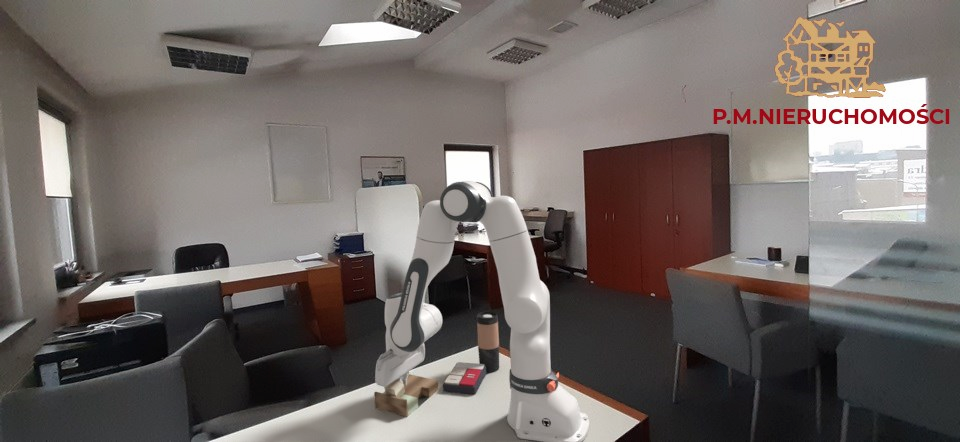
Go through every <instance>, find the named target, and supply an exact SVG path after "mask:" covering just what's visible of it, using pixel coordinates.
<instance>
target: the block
mask: <svg viewBox="0 0 960 442" xmlns="http://www.w3.org/2000/svg"><path fill="white" fill-rule="evenodd" d="M383 388H384V392H386V394H387V395H391V396H395V397H399V398H400V397H401V396H402V395H403V393H404V392H405V388H404V384H403V381H401V380H397V379H396V380H395V381H393V382H392V383H390V384H389V385H387V386H386V387H383Z"/></svg>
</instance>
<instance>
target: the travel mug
mask: <svg viewBox="0 0 960 442" xmlns="http://www.w3.org/2000/svg"><path fill="white" fill-rule="evenodd" d="M498 316H499V315H498V314H497V313H496V312H494V311H482V312H479V313H478V314H477V315H476V327H477V330H476V331H477V346H478V347H477V349H478V350H477V351H478V361H479V362H478V364H485V365H486V373H487V374H488V373H495V372H497V371H498V370H499V369H500V337H499V318H498Z"/></svg>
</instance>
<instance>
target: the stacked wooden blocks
mask: <svg viewBox="0 0 960 442" xmlns="http://www.w3.org/2000/svg"><path fill="white" fill-rule="evenodd" d="M439 385H440V382H439V380H438V379H433V378H429V377H424V376H419V375H414V374H410V373H409V375H408V378H407V385H406V386H404V388H405V392H404V393H403V395H402V396H401V397H400V398H399V397H395V396H391V395H387V394H386V392H385V391H383V392H378V391H374V392H373V393H374V395H373V396H374V405H375V406H374V407H375V409H377V410H380V411H384V412H387V413H391V414H394V415H399V416H401V417H405V418H408V417H409V416H410V415H411V414H412V413H413V412H415V411H416V410H417V409H418V408H419V407H420V406H422V404H424V403H425V402H426V401H427V400H428V399H430V397H432V396H433V395H434V394H435V393H437V392H438V391H439V389H440V387H439Z"/></svg>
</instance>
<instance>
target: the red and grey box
mask: <svg viewBox="0 0 960 442" xmlns="http://www.w3.org/2000/svg"><path fill="white" fill-rule="evenodd" d="M487 374H488V373H487V372H486V365H485V364H479V363H473V362H462V361H459V362H456V364H455V365H454V366H453V368H452V369H451V371H450V372H449V374H448V376H447V377H446V378H445V380H444V382H443V383H442V391H443V393H451V394H452V393H453V394H459V395H462V394H463V395H472V396H476V394H477V392H478V390H479V389H480V387H481V385H482V383H483V380H484V379H485V378H486V376H487Z"/></svg>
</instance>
